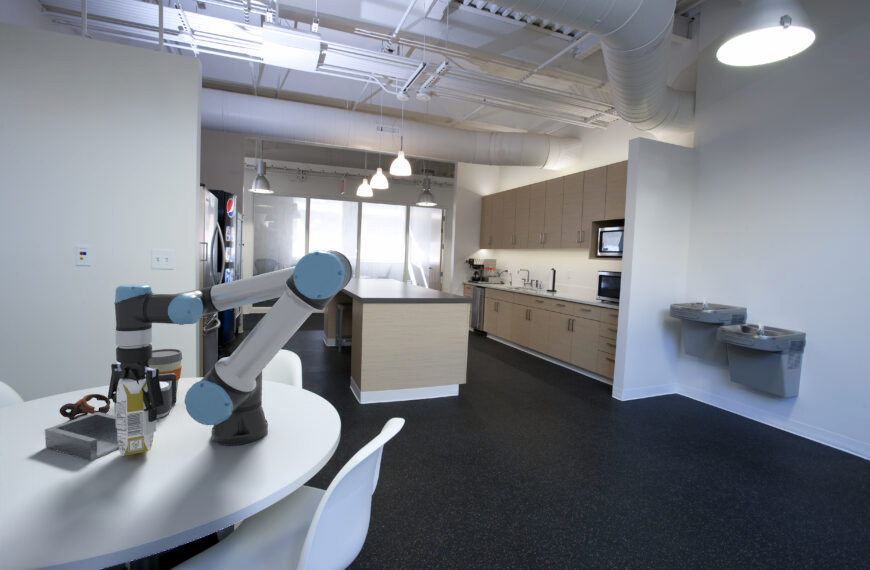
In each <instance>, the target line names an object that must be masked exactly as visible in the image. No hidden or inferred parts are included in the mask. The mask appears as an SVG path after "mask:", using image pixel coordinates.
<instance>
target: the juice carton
mask: <svg viewBox="0 0 870 570" xmlns="http://www.w3.org/2000/svg"><path fill="white" fill-rule="evenodd" d="M138 382H139V384H138V383H137V381H135V380H133V379H126V378H125V379H120V380H119V383H118V386H117V441H118V448H119V449H118V450H119V453H120V456H121V457H125V456H130V455H134V454H139V453H146V452H149V451H151V449H152V445H153V443H154V433H155V432H153V433H150V434H148V435H144V411H143V410H144V409H146V407H145V404H144V402H143V392H142V388H143V390H144V391H145V392H147V391H148V388H147V383H146V378H144V379H140V380H139V381H138ZM150 405H151V403H150Z"/></svg>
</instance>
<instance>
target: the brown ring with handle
mask: <svg viewBox="0 0 870 570" xmlns="http://www.w3.org/2000/svg"><path fill="white" fill-rule="evenodd" d="M92 399H96V400H97V401H102V402H103V401H104V402H105V404H106V405H104V406H99V407H98V410H95V409H96V408H95V406H94V405H93V406H92V405H90V404H88V403H87V402H89V401H92ZM110 409H111V399H108V396H106V395H103V394H100V393H90V394H87V395H84V396H83V397H82V398H81V399H79V400H77V401H76V402H75V403H72V402H71V403H70V402H68V403H66V404H63V405H62V406H61V407H60V408H59V410H58V411H59V414H60V415H61V416H62V417H64V418H68V419H69V420H70V421H72V420H75V418H74V417H77V416H78V415H80V414H85V415H86V414H89V415H90V414H93V413H96V412H101V413H105V414H109V412H110ZM67 410H70V411H69V412H68V411H67Z"/></svg>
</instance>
